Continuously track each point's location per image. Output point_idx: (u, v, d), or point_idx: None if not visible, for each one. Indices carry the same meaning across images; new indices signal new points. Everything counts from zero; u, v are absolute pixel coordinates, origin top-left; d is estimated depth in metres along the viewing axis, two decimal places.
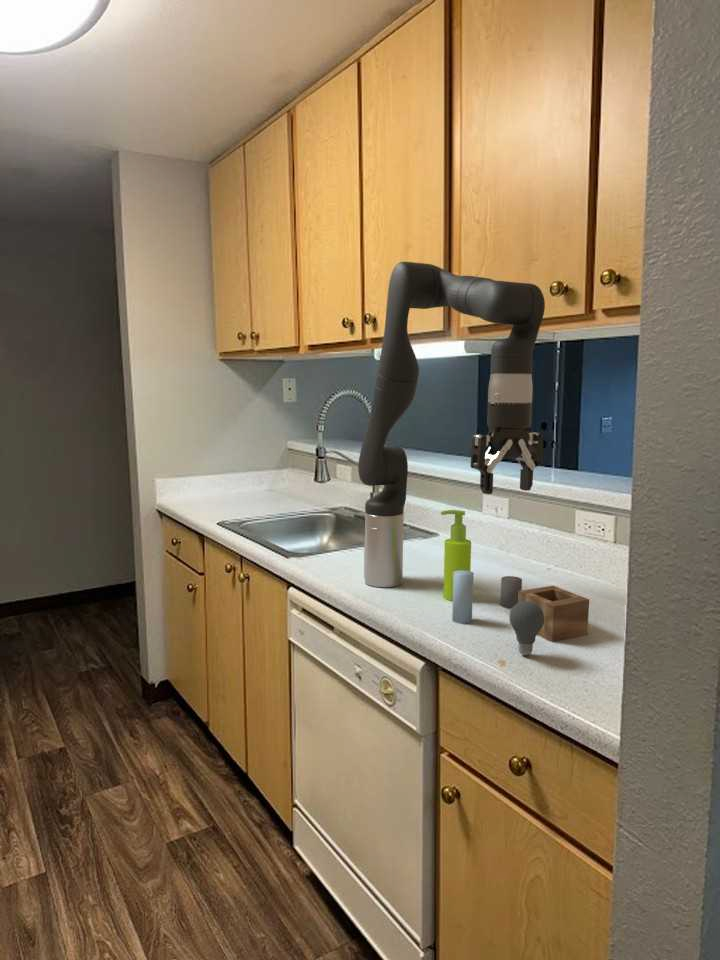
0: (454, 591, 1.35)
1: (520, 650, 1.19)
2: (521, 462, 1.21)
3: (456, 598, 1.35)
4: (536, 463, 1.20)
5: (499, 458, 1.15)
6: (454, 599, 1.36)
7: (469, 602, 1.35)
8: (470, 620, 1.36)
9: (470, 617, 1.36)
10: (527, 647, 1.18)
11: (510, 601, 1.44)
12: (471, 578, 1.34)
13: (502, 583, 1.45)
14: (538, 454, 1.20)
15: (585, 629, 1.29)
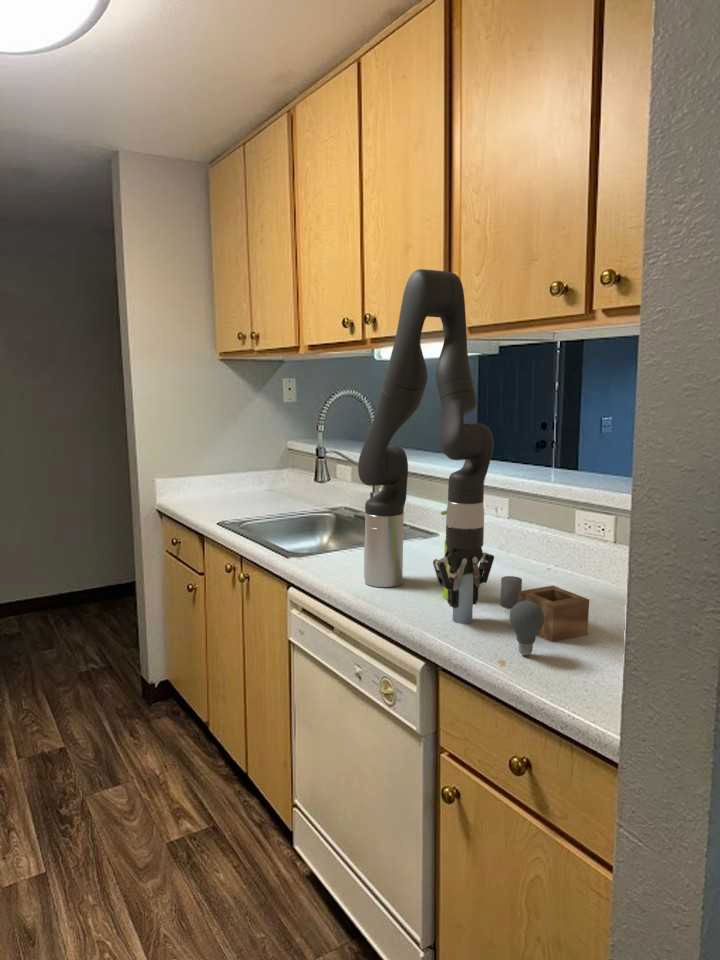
0: None
1: (520, 650, 1.19)
2: None
3: None
4: (481, 580, 1.37)
5: (460, 576, 1.33)
6: None
7: (470, 602, 1.35)
8: (470, 620, 1.36)
9: (470, 617, 1.36)
10: (527, 647, 1.18)
11: (510, 601, 1.44)
12: (471, 578, 1.34)
13: (502, 583, 1.45)
14: (485, 572, 1.37)
15: (585, 629, 1.29)
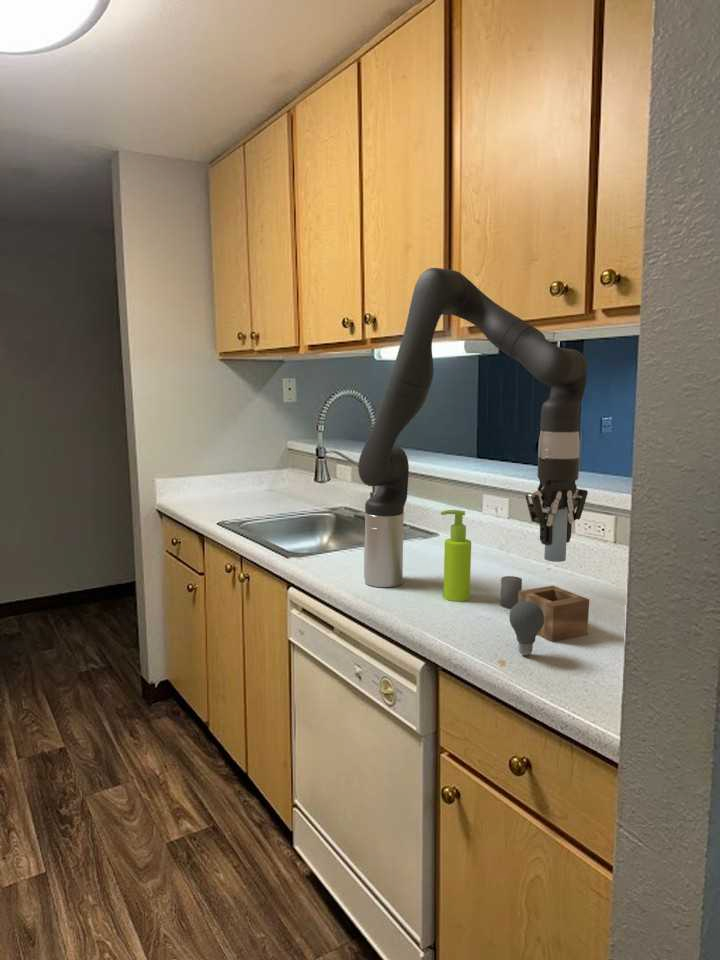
0: None
1: (520, 650, 1.19)
2: None
3: None
4: (574, 517, 1.30)
5: (554, 511, 1.26)
6: None
7: (564, 539, 1.28)
8: (564, 558, 1.28)
9: (564, 555, 1.28)
10: (527, 647, 1.18)
11: (510, 601, 1.44)
12: (566, 513, 1.27)
13: (502, 583, 1.45)
14: (578, 508, 1.29)
15: (585, 629, 1.29)
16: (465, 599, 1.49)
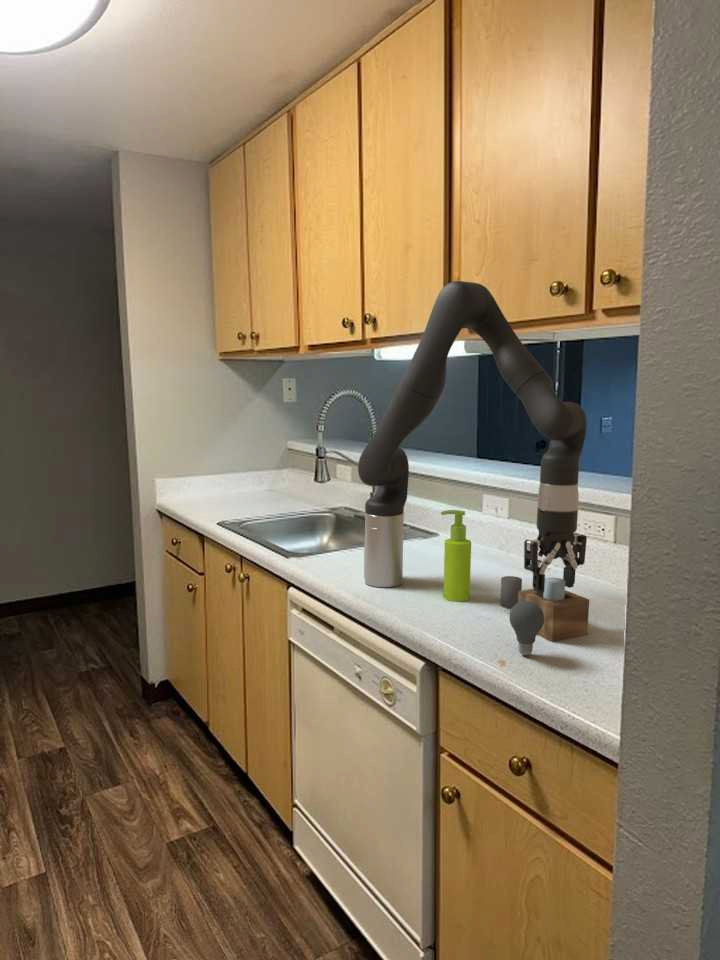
0: None
1: (520, 650, 1.19)
2: (565, 561, 1.32)
3: None
4: (578, 562, 1.32)
5: (550, 560, 1.27)
6: None
7: None
8: None
9: None
10: (527, 647, 1.18)
11: (510, 601, 1.44)
12: (564, 586, 1.30)
13: (502, 583, 1.45)
14: (581, 554, 1.32)
15: (585, 629, 1.29)
16: (465, 599, 1.49)
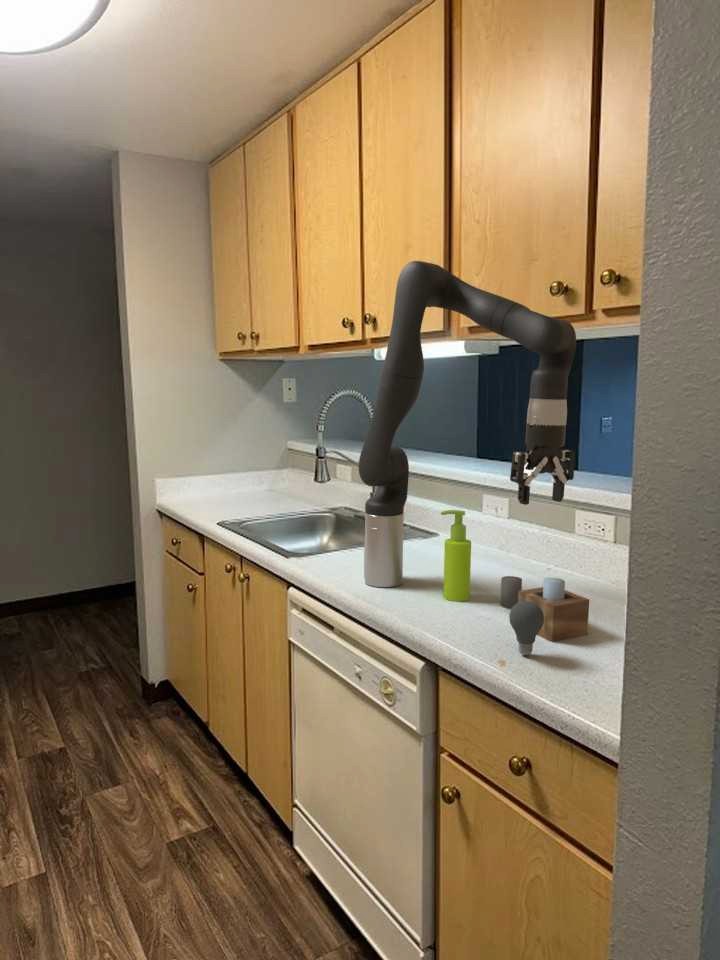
0: None
1: (520, 650, 1.19)
2: (554, 476, 1.36)
3: None
4: (567, 477, 1.35)
5: (536, 473, 1.30)
6: None
7: None
8: None
9: None
10: (527, 647, 1.18)
11: (510, 601, 1.44)
12: (563, 586, 1.29)
13: (502, 583, 1.45)
14: (569, 469, 1.35)
15: (585, 629, 1.29)
16: (465, 599, 1.49)
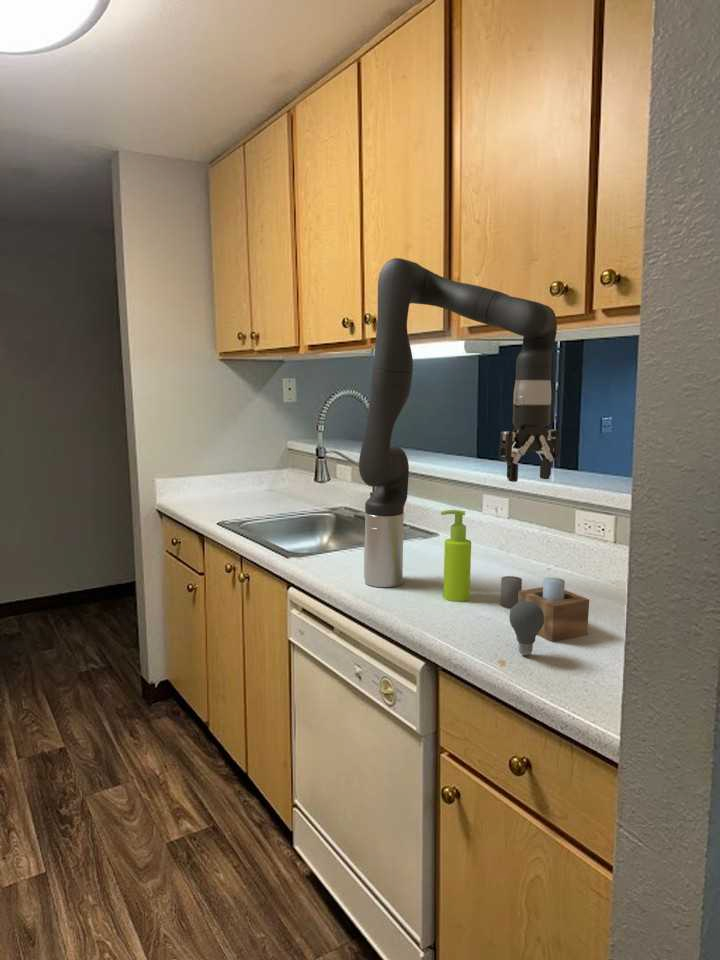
0: None
1: (520, 650, 1.19)
2: (541, 455, 1.42)
3: None
4: (554, 456, 1.41)
5: (523, 451, 1.36)
6: None
7: None
8: None
9: None
10: (527, 647, 1.18)
11: (510, 601, 1.44)
12: (563, 586, 1.30)
13: (502, 583, 1.45)
14: (555, 448, 1.41)
15: (585, 629, 1.29)
16: (465, 599, 1.49)
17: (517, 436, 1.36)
